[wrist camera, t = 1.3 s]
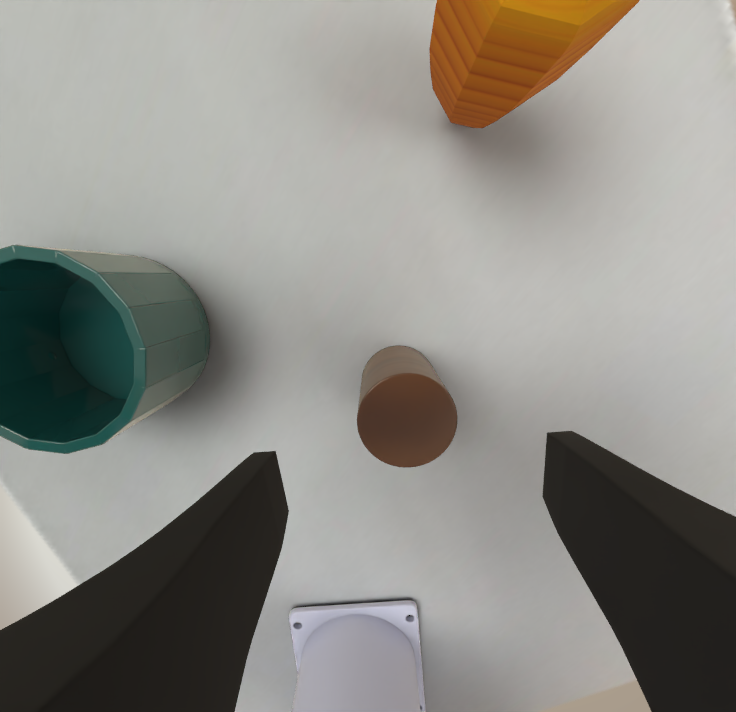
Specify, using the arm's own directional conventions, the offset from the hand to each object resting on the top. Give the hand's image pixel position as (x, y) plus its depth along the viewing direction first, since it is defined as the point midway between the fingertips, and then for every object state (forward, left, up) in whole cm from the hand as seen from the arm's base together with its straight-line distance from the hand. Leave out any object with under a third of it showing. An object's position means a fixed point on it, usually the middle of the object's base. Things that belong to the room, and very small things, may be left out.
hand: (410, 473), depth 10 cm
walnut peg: (-1, 0, -11) cm, 11 cm away
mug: (+3, +15, -11) cm, 19 cm away
